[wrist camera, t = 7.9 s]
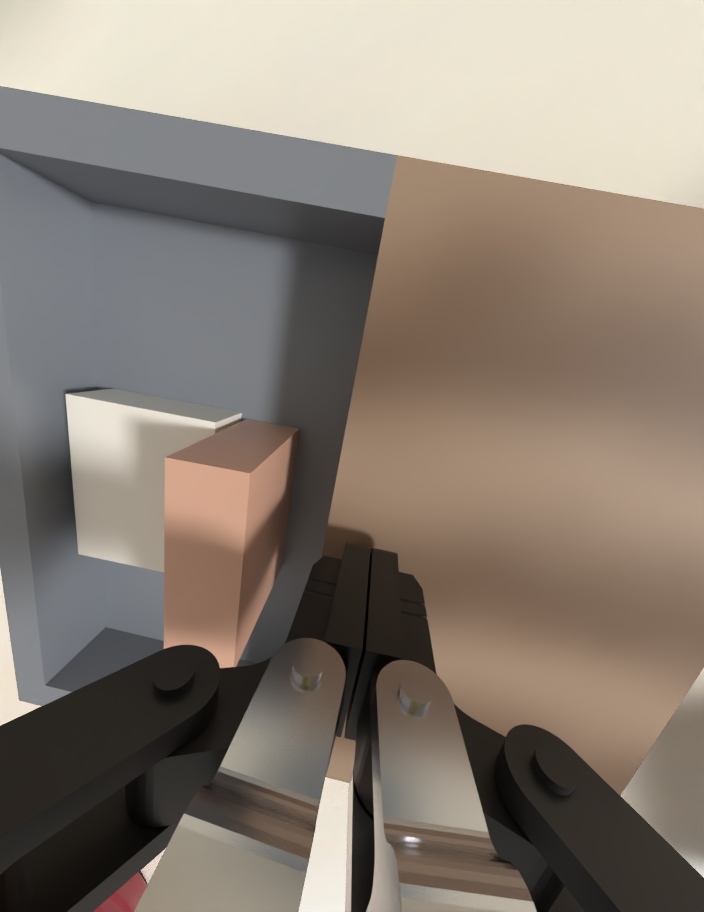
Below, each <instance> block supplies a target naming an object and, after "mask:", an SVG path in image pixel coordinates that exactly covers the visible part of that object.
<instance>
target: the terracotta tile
mask: <svg viewBox="0 0 704 912" xmlns="http://www.w3.org/2000/svg"><path fill="white" fill-rule="evenodd" d="M298 437H299V429H298V428H293V427H288V426H282V425H277V424H271V423H266V422H261V421H255V420H250V419H246V420H244V421H241V422H239V423H237V424H235V425H233V426H231V427H229V428H226V429H224V430H222V431H220V432H218V433H216V434H214V435H212V436H209V437H207V438H205V439H203V440H201V441H199V442H197V443H195V444H192V445H190V446H188V447H186V448H184V449H182V450H180V451H177V452H175V453H173V454H171V455H169V456H167V457H165V526H164V649H165V648H169V647H172V646H177V645H196V646H200V647H203V648H205V649H207V650H208V651H210V652H211V653H212V654H213V655H214V656H215V657H216V659H217V661H218V663H219V667H220V668H228V667H236V666H237V663H238V661H239V659H240V657H241V655H242V652H243V650H244V648H245V646H246V644H247V642H248V639H249V637H250V635H251V633H252V631H253V628H254V626H255V624H256V622H257V620H258V618H259V615H260V613H261V611H262V609H263V607H264V604H265V602H266V600H267V598H268V596H269V594H270V591H271V589H272V587H273V585H274V583H275V580H276V578H277V576H278V574H279V572H280V570H281V567H282V563H283V555H284V547H285V539H286V531H287V523H288V516H289V508H290V500H291V492H292V484H293V476H294V468H295V460H296V452H297V445H298Z"/></svg>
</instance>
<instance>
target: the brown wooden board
mask: <svg viewBox="0 0 704 912" xmlns="http://www.w3.org/2000/svg"><path fill="white" fill-rule="evenodd" d="M346 542H348V543H353V544H358V545H362V546H367V547H370V553H371V549H372V548H377V549H381V550H386V551H390V552H395V553H397V554H398V568H399V572H402V573H407V574H411V575H414V577H415V578H416V580H417V581H418V583H419V584H420V586H421V587H422V589H423V595H424V601H425V607H426V613H427V620H428V625H429V632H430V638H431V644H432V650H433V656H434V662H435V668H436V673H437V675H438V676H439V677H440V679H441V680H442V681H443V682H444V684H445V685H446V687H447V688H448V690H449V692H450V694H451V697H452V700H453V703H454V704H455V705H456V706H457V707H458V708H459V709H460V710H462V711H463V712H464V713H465V714H467V715H468V716H470V717H471V718H473V719H475V720H476V721H478V722H480V723H482V724H484V725H485V726H487V727H489V728H491V729H492V730H494V731H496V732H498V733H500V734H501V735H503V736H505V737H506V736H507V734H508V732H509V731H510V730H511V729H512V728H513V727H515V726H517V725H521V724H528V725H534V726H537V727H540V728H543V729H545V730H547V731H549V732H551V733H552V734H554V735H555V736H557V737H558V738H560V739H561V740H562V741H564V742H565V743H566V744H567V745H568V746H569V747H571V748H572V749H573V750H574V751H575V752H576V753H577V754H578V755H579V756H580V757H581V758H582V759H583V760H584V761H585V762H586V763H587V764H588V765H589V766H590V767H591V768H592V769H593V770H594V771H595V772H596V773H597V774H598V775H599V776H600V777H601V778H602V779H603V780H604V781H605V782H606V783H607V784H608V785H609V786H610V787H612V788H613V789H614V790H615V791H616V792H617V793H618V794H619V795H621V793H622V792H623V790H624V789H625V787H626V786H627V784H628V783H629V781H630V780H631V778H632V777H633V775H634V774H635V772H636V770H637V769H638V767H639V766H640V764H641V763H642V761H643V760H644V758H645V757H646V755H647V754H648V752H649V750H650V749H651V747H652V746H653V744H654V743H655V741H656V740H657V738H658V737H659V735H660V734H661V732H662V731H663V729H664V727H665V726H666V724H667V723H668V721H669V720H670V718H671V717H672V715H673V714H674V712H675V711H676V709H677V708H678V706H679V704H680V703H681V701H682V700H683V698H684V697H685V695H686V694H687V692H688V691H689V689H690V688H691V686H692V685H693V683H694V681H695V680H696V678H697V677H698V675H699V674H700V672H701V671H702V669H703V668H704V209H702V208H696V207H690V206H685V205H679V204H673V203H667V202H662V201H656V200H650V199H644V198H639V197H633V196H627V195H622V194H616V193H610V192H604V191H599V190H593V189H587V188H581V187H576V186H570V185H564V184H558V183H553V182H547V181H541V180H535V179H530V178H524V177H518V176H513V175H507V174H501V173H495V172H490V171H484V170H478V169H472V168H467V167H461V166H455V165H449V164H444V163H438V162H432V161H426V160H421V159H415V158H409V157H404V156H398V155H397V158H396V163H395V168H394V174H393V179H392V184H391V190H390V195H389V200H388V206H387V211H386V216H385V221H384V227H383V232H382V237H381V243H380V248H379V253H378V259H377V264H376V269H375V275H374V280H373V285H372V291H371V296H370V301H369V307H368V312H367V317H366V323H365V328H364V333H363V338H362V344H361V349H360V354H359V360H358V365H357V370H356V376H355V381H354V386H353V392H352V397H351V402H350V408H349V413H348V418H347V424H346V429H345V434H344V440H343V445H342V450H341V455H340V461H339V466H338V471H337V477H336V482H335V487H334V493H333V498H332V503H331V509H330V514H329V519H328V525H327V530H326V535H325V541H324V546H323V551H322V557H323V556H328V557H333V558H337V559H342V558H343V553H344V548H345V544H346ZM322 557H321V558H322ZM346 716H347V715H346ZM345 725H346V719H345V723H344V727H343V731H342V735H341V737H337V736H336V738H335V742H334V747H333V751H332V755H331V759H330V763H329V767H328V771H327V774H326V776H325V777H328V778H332V779H336V780H340V781H344V782H348V783H349V782H350V778H351V774H352V770H353V767H354V759H355V746H356V741H355V740H350V739H346V738H344V735H345Z"/></svg>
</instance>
